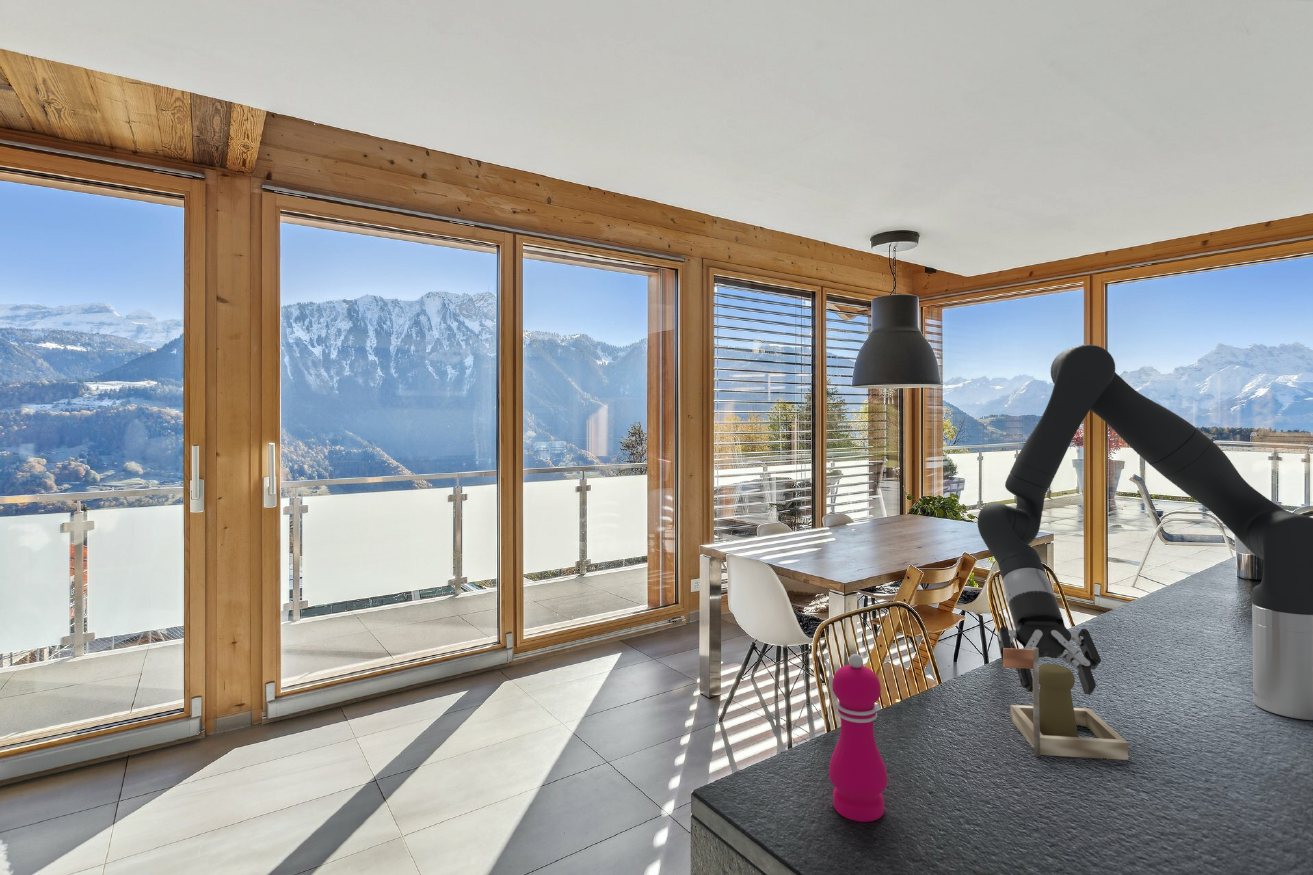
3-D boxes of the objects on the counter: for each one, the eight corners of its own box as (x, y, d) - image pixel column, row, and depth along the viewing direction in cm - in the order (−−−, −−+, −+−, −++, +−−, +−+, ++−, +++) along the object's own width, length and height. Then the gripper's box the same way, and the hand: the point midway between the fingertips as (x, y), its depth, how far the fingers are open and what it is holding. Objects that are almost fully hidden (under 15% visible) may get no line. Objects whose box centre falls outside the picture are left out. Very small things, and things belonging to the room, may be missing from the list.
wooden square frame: (1089, 723, 109) (1088, 626, 109) (1131, 762, 96) (1129, 652, 96) (979, 718, 112) (978, 622, 111) (1005, 755, 99) (1004, 647, 99)
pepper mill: (821, 794, 89) (819, 646, 89) (874, 791, 90) (871, 643, 90) (841, 826, 82) (838, 665, 82) (897, 822, 83) (895, 662, 83)
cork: (1085, 746, 101) (1084, 674, 101) (1041, 743, 103) (1040, 672, 102) (1069, 728, 107) (1068, 660, 107) (1028, 726, 108) (1027, 658, 108)
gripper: (992, 588, 115) (1017, 678, 104) (1082, 589, 113) (1118, 682, 102) (983, 610, 121) (1006, 699, 109) (1069, 612, 118) (1101, 703, 107)
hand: (1060, 691), depth 106 cm, fingers open, 8 cm apart
